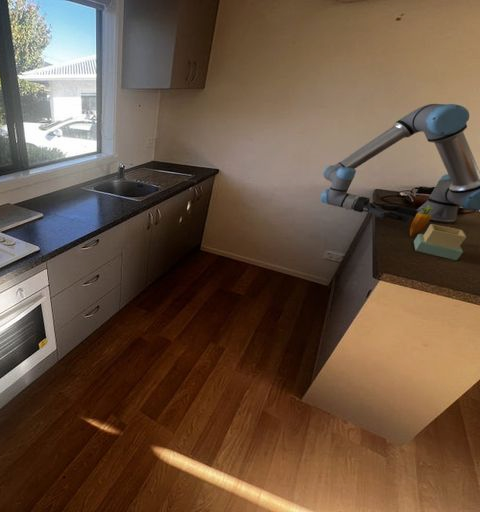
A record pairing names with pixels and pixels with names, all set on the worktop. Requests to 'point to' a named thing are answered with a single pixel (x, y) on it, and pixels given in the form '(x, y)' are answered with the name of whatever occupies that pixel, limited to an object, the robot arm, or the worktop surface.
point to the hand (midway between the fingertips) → (412, 216)
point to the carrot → (420, 221)
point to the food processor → (440, 242)
